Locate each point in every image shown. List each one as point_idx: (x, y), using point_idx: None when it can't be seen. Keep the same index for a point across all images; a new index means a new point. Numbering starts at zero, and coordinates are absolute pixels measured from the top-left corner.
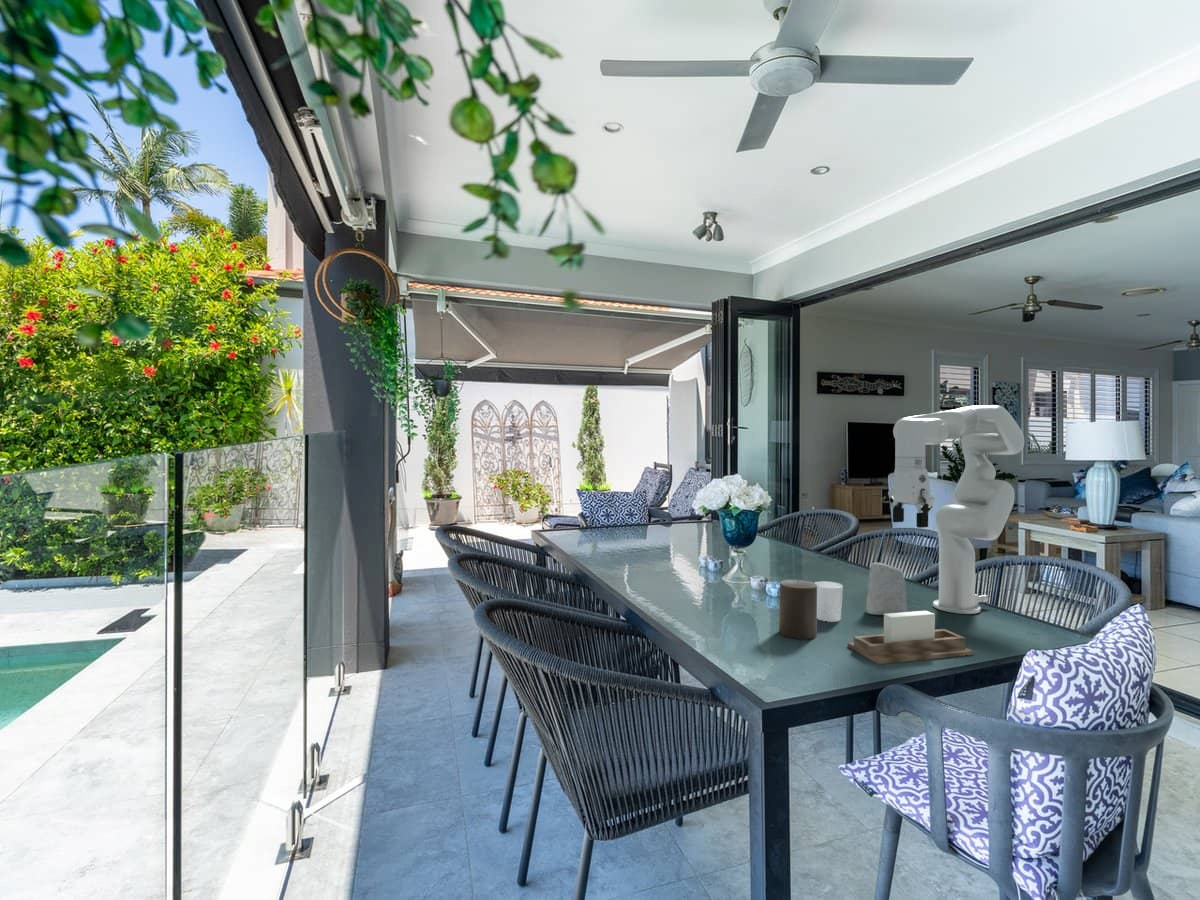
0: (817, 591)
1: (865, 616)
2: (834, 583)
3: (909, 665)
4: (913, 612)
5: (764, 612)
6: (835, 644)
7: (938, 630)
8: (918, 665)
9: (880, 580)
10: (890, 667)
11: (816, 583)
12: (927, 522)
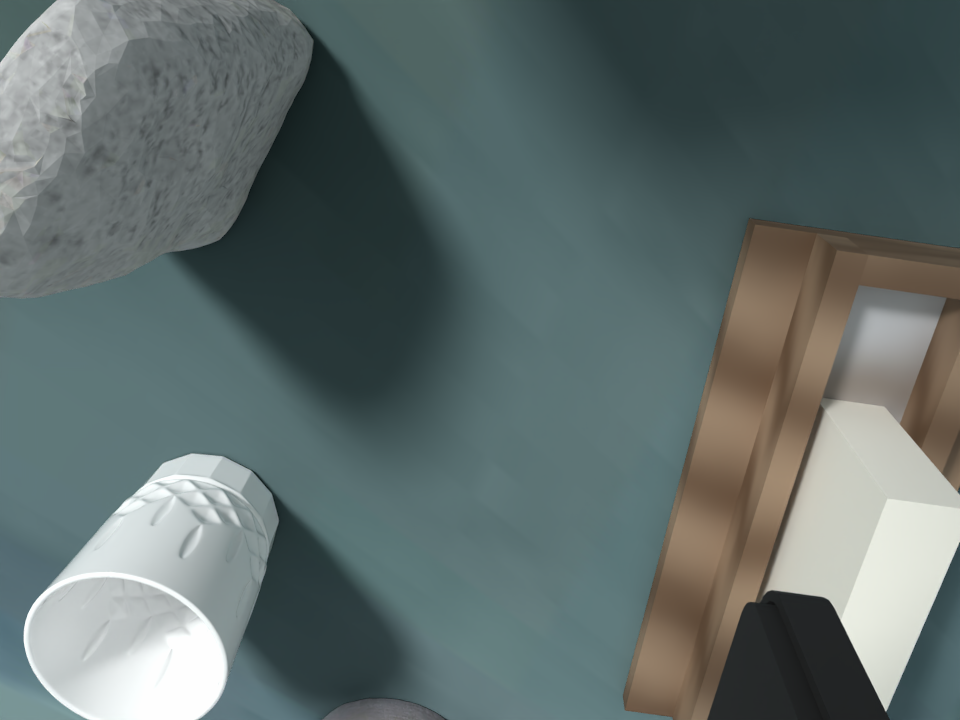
0: (160, 702)
1: (225, 287)
2: (76, 579)
3: (930, 633)
4: (868, 597)
5: (31, 712)
6: (573, 717)
7: (837, 312)
8: (953, 602)
9: (122, 248)
10: (899, 708)
11: (50, 676)
12: (858, 695)
